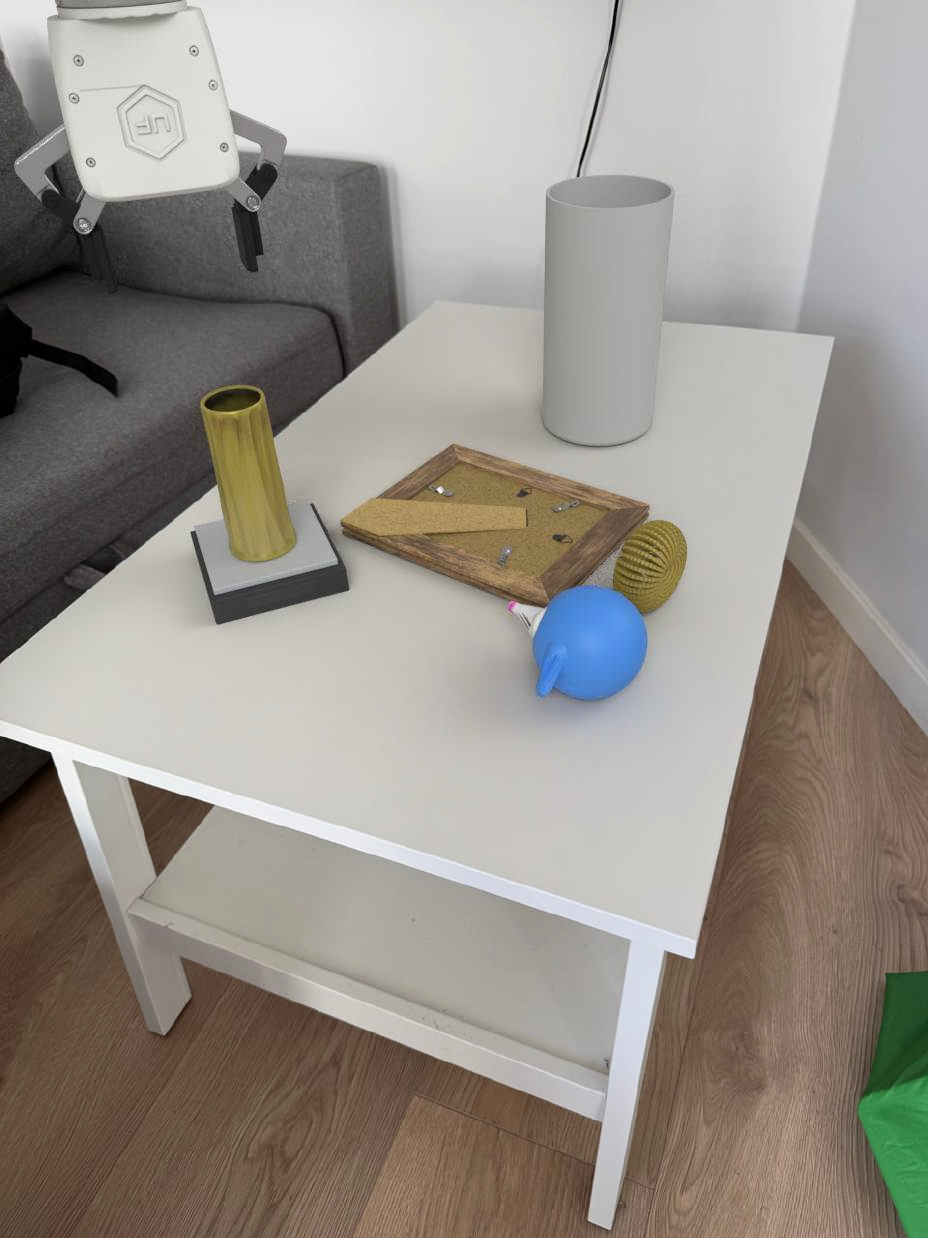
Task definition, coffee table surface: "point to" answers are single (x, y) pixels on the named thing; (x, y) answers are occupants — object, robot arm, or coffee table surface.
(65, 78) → the robot arm
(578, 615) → the blue mole toy
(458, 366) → the coffee table surface
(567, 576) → the picture frame
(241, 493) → the vase
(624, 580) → the sculpture
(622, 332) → the cylinder vase
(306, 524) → the scale
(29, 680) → the coffee table surface
